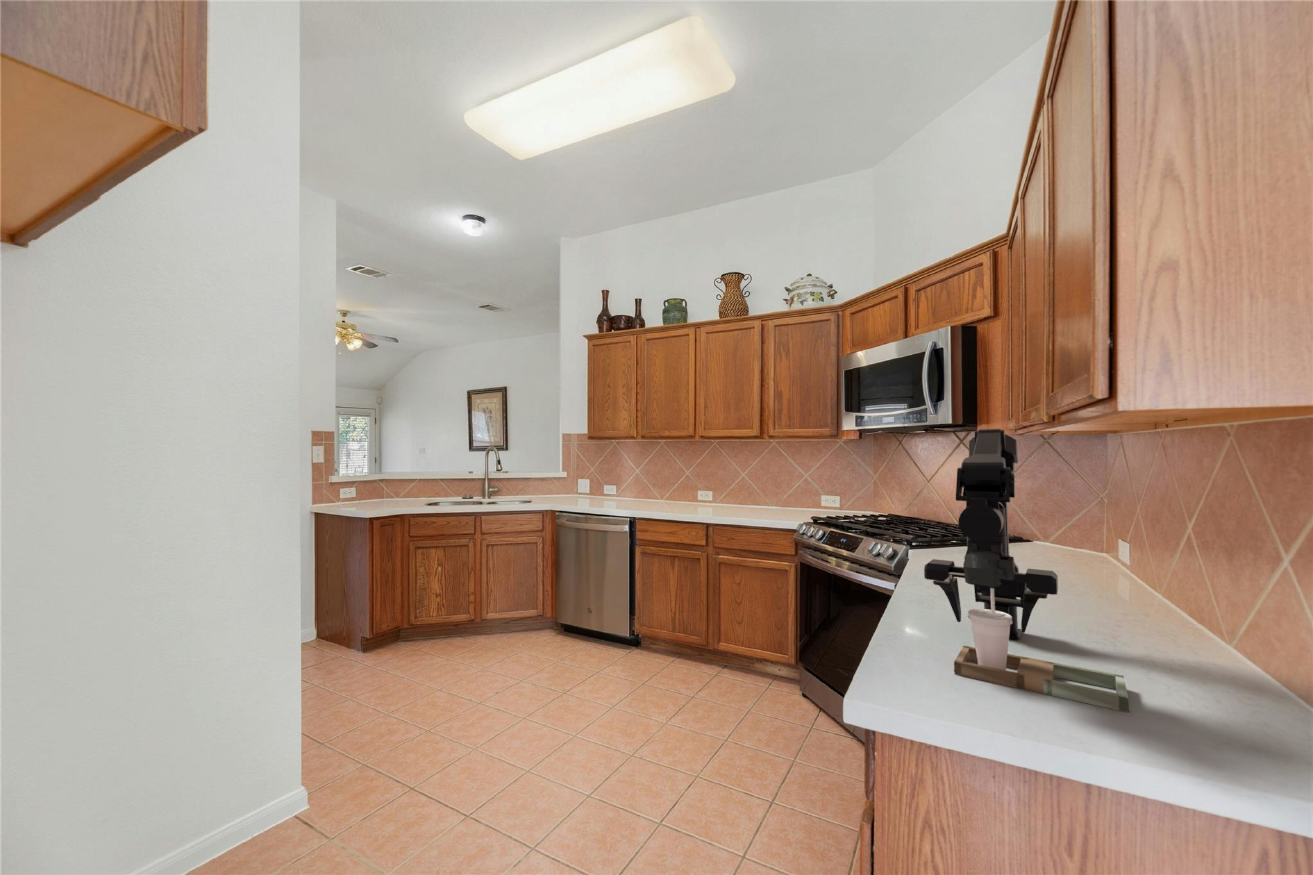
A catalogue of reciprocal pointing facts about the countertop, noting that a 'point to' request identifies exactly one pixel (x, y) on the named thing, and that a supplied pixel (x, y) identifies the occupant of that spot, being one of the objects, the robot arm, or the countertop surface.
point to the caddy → (1048, 679)
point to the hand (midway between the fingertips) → (990, 626)
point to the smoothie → (991, 635)
